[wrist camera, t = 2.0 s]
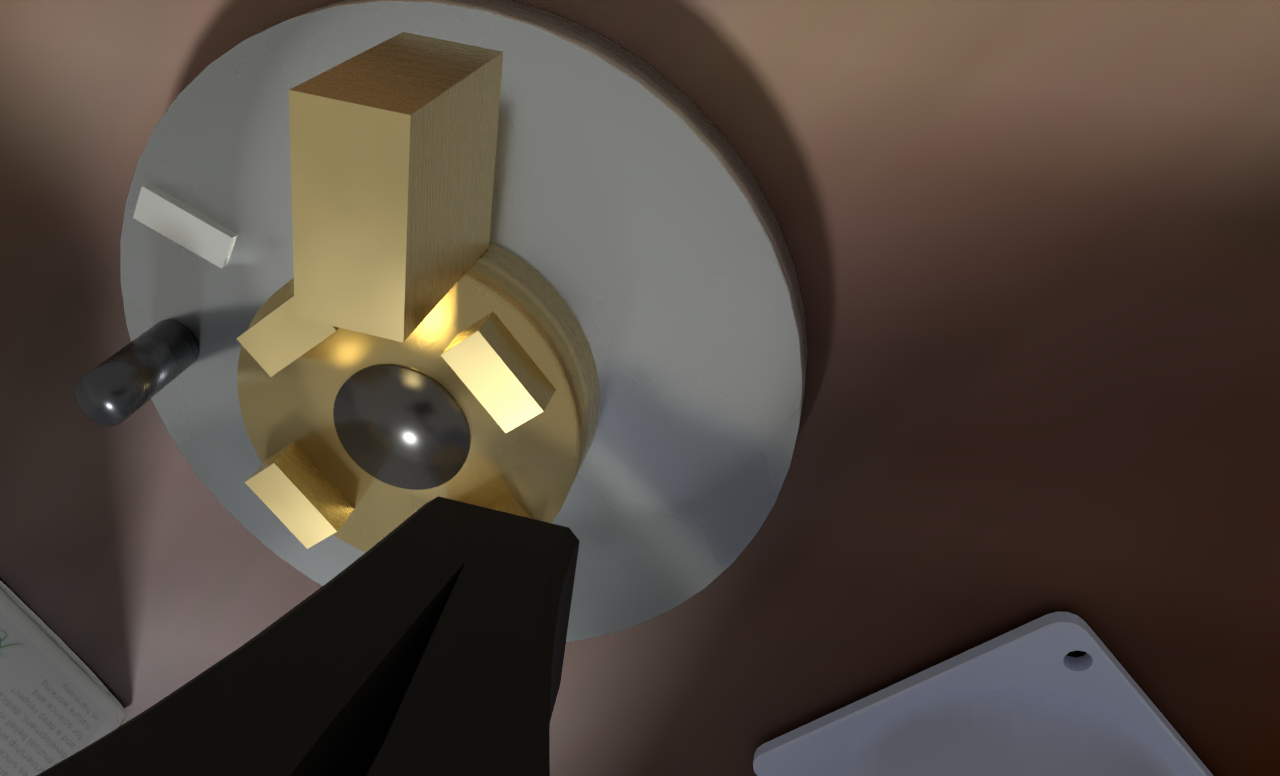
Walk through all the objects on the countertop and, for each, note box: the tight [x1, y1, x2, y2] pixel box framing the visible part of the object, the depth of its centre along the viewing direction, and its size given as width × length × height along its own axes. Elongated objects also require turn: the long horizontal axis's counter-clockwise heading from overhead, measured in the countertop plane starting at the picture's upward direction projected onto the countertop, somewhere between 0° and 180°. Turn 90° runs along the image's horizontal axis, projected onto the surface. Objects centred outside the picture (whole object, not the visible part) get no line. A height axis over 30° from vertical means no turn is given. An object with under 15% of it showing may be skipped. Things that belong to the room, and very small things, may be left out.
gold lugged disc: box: [237, 32, 600, 552], centre depth 18 cm, size 8×8×4 cm
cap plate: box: [75, 0, 808, 642], centre depth 20 cm, size 13×13×4 cm
